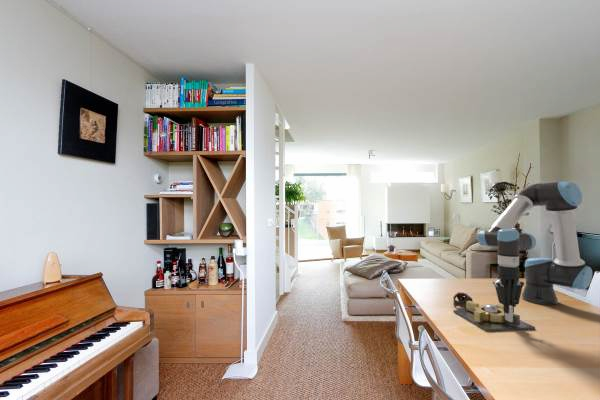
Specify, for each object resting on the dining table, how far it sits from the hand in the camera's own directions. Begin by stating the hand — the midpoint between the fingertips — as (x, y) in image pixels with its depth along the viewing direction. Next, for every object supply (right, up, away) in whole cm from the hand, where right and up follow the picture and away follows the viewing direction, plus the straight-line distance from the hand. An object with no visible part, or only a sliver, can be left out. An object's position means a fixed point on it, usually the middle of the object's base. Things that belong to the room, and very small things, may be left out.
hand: (508, 320), depth 124 cm
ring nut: (-2, -2, +8) cm, 8 cm away
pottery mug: (-5, -4, +26) cm, 26 cm away
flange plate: (-2, -3, +8) cm, 9 cm away
